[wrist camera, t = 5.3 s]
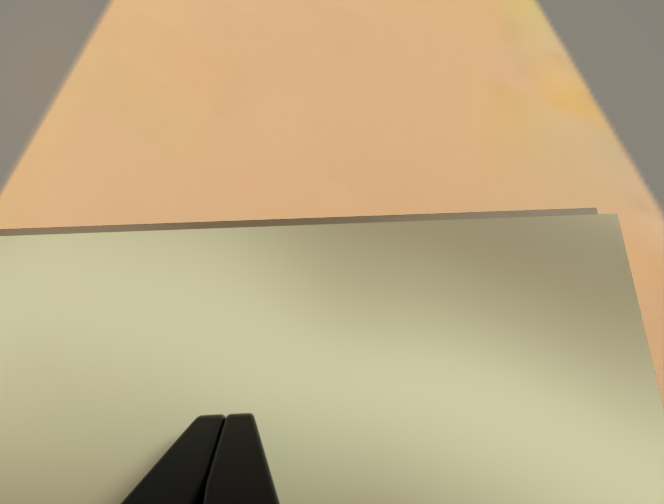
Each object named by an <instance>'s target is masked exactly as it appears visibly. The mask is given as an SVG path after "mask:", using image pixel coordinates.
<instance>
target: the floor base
mask: <svg viewBox="0 0 664 504" xmlns="http://www.w3.org/2000/svg"><path fill="white" fill-rule="evenodd" d="M596 214H598V213H597V209H596V208H578V209H550V210H522V211H495V212H467V213H439V214H411V215H384V216H356V217H328V218H300V219H273V220H245V221H217V222H190V223H162V224H134V225H106V226H79V227H51V228H23V229H0V236H19V235H46V234H74V233H101V232H129V231H156V230H184V229H211V228H238V227H266V226H293V225H321V224H348V223H376V222H403V221H431V220H458V219H486V218H513V217H541V216H568V215H596Z"/></svg>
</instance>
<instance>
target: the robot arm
mask: <svg viewBox="0 0 664 504" xmlns="http://www.w3.org/2000/svg"><path fill="white" fill-rule="evenodd" d="M120 504H280V502H279V499H278V496H277V492H276V489H275V485H274V482H273V479H272V475H271V472H270V468H269V465H268V462H267V458H266V455H265V451H264V448H263V445H262V441H261V438H260V434H259V431H258V427H257V424H256V421H255V418H254V415H253V414H252V413H236V414H229V415H227V416H226V417H225V416H224V415H222V414H214V415H200V416H198V417H197V418H196V419H195V420H194V421H193V422H192V423H191V424H190V425H189V426H188V427H187V429H186V430H185V431H184V432H183V433H182V434H181V435H180V437H179V438H178V439H177V440H176V441H175V442H174V443H173V445H172V446H171V447H170V448H169V449H168V450H167V451H166V452H165V454H164V455H163V456H162V457H161V458H160V459H159V460H158V462H157V463H156V464H155V465H154V466H153V467H152V468H151V469H150V471H149V472H148V473H147V474H146V475H145V476H144V477H143V479H142V480H141V481H140V482H139V483H138V484H137V485H136V486H135V488H134V489H133V490H132V491H131V492H130V493H129V494H128V496H127V497H126V498H125V499H124V500H123V501H122V502H121V503H120Z"/></svg>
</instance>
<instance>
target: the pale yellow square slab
mask: <svg viewBox="0 0 664 504" xmlns="http://www.w3.org/2000/svg"><path fill="white" fill-rule="evenodd" d="M236 413H252V414H253V415H254V418H255V421H256V424H257V427H258V431H259V434H260V438H261V441H262V445H263V448H264V451H265V455H266V458H267V462H268V465H269V468H270V472H271V475H272V479H273V482H274V485H275V489H276V492H277V496H278V499H279V502H280V504H664V409H663V404H662V400H661V396H660V392H659V388H658V383H657V379H656V375H655V371H654V367H653V362H652V358H651V354H650V350H649V346H648V341H647V337H646V333H645V329H644V325H643V320H642V316H641V312H640V308H639V304H638V299H637V295H636V291H635V287H634V283H633V278H632V274H631V270H630V266H629V262H628V257H627V253H626V249H625V245H624V241H623V236H622V232H621V228H620V224H619V220H618V215H617V214H596V215H568V216H541V217H513V218H486V219H458V220H431V221H403V222H376V223H348V224H321V225H293V226H266V227H238V228H211V229H184V230H156V231H129V232H101V233H74V234H46V235H19V236H0V504H120V503H121V502H122V501H123V500H124V499H125V498H126V497H127V496H128V494H129V493H130V492H131V491H132V490H133V489H134V488H135V486H136V485H137V484H138V483H139V482H140V481H141V480H142V479H143V477H144V476H145V475H146V474H147V473H148V472H149V471H150V469H151V468H152V467H153V466H154V465H155V464H156V463H157V462H158V460H159V459H160V458H161V457H162V456H163V455H164V454H165V452H166V451H167V450H168V449H169V448H170V447H171V446H172V445H173V443H174V442H175V441H176V440H177V439H178V438H179V437H180V435H181V434H182V433H183V432H184V431H185V430H186V429H187V427H188V426H189V425H190V424H191V423H192V422H193V421H194V420H195V419H196V418H197V417H198V416H200V415H214V414H222V415H224V416H225V417H226V416H227V415H229V414H236Z"/></svg>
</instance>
